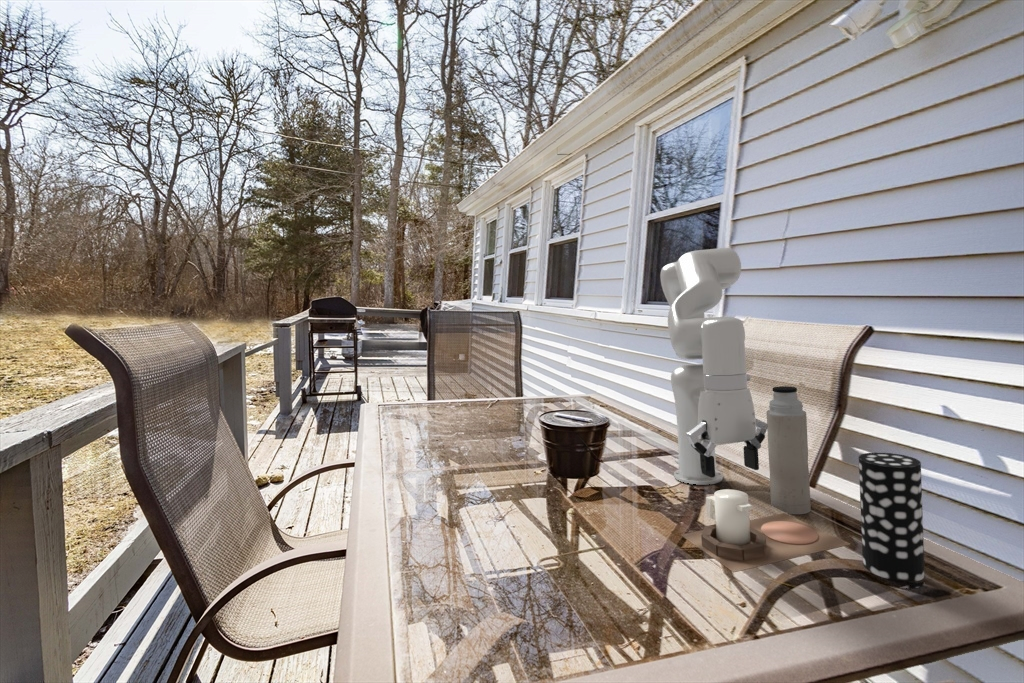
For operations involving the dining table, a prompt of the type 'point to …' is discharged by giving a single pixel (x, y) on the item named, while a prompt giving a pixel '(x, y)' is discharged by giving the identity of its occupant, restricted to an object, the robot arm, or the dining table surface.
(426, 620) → the dining table surface
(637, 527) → the dining table surface
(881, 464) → the white-spotted black cylinder
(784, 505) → the thermos bottle
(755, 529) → the holder board
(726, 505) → the white ceramic pitcher
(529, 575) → the dining table surface
